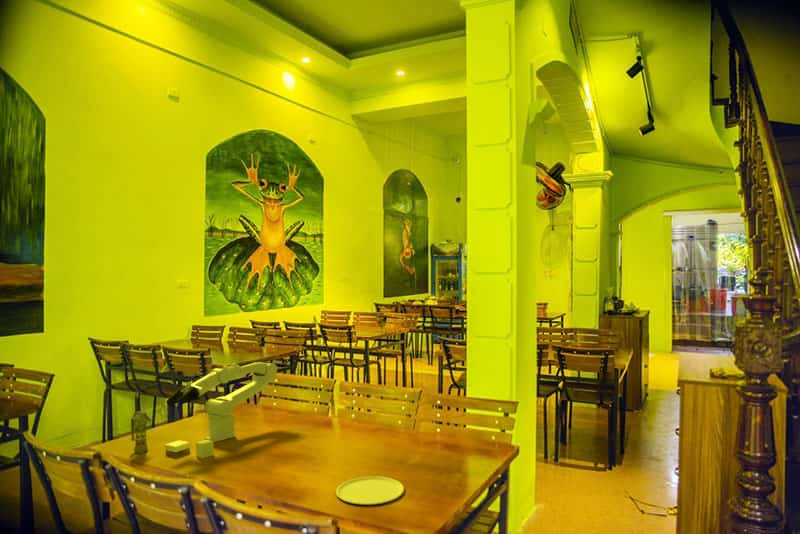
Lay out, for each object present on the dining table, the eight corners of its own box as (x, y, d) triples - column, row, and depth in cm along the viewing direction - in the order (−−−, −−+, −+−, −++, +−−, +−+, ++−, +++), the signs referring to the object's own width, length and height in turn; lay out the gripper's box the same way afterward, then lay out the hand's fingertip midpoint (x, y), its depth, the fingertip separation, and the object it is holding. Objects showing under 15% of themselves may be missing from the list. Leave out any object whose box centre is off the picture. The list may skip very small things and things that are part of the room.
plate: (418, 495, 164) (418, 491, 164) (358, 514, 152) (358, 510, 152) (380, 474, 181) (380, 471, 181) (323, 490, 169) (323, 486, 169)
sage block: (207, 452, 205) (207, 439, 205) (213, 455, 202) (213, 441, 202) (196, 455, 202) (195, 442, 202) (202, 458, 199) (201, 444, 199)
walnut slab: (179, 450, 210) (179, 445, 210) (189, 452, 207) (189, 447, 207) (165, 454, 205) (165, 449, 205) (176, 457, 202) (175, 452, 202)
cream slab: (179, 445, 210) (179, 440, 210) (189, 447, 207) (189, 442, 207) (165, 449, 205) (165, 444, 205) (175, 452, 202) (175, 446, 202)
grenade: (142, 454, 205) (141, 414, 205) (126, 453, 207) (125, 413, 207) (154, 447, 212) (153, 409, 212) (139, 446, 214) (138, 408, 214)
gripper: (187, 378, 220) (158, 394, 209) (209, 375, 212) (180, 391, 201) (194, 394, 221) (165, 411, 210) (216, 391, 213) (187, 409, 202)
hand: (173, 402), depth 205 cm, fingers open, 7 cm apart
